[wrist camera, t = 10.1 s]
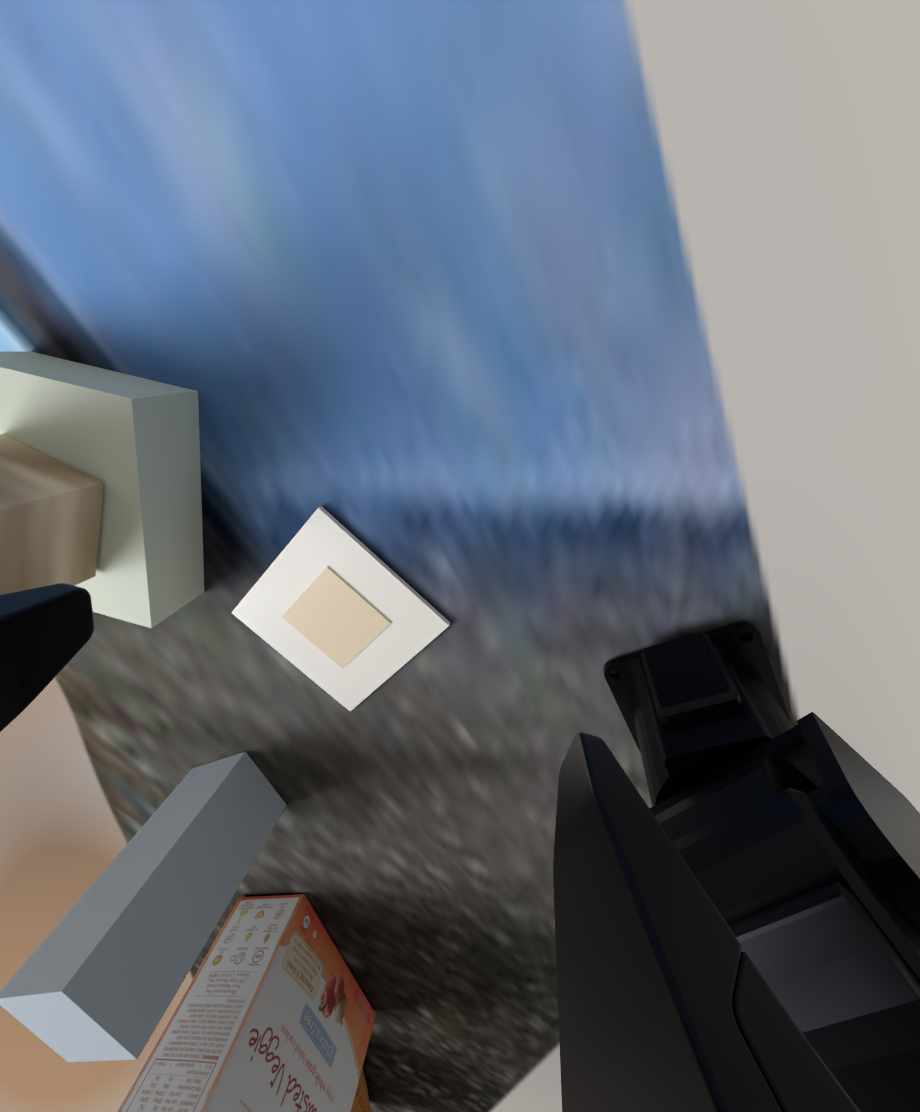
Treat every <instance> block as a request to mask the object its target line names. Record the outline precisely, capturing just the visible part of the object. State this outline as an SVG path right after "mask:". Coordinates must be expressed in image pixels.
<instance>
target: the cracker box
mask: <svg viewBox="0 0 920 1112" xmlns="http://www.w3.org/2000/svg"><path fill="white" fill-rule="evenodd" d="M375 1017H376V1012H375V1011H374V1010H373V1008H372V1007H371V1005H370V1003H369V1002H368V1000H367V998H366V997H365V995H364V993H363V992H362V990H361V988H360V987H359V985H358V983H357V982H356V980H355V978H354V976H353V975H352V973H351V971H350V970H349V968H348V966H347V965H346V963H345V962H344V960H343V958H342V956H341V955H340V953H339V951H338V949H337V948H336V946H335V945H334V943H333V941H332V940H331V938H330V936H329V934H328V933H327V931H326V929H325V928H324V926H323V924H322V923H321V921H320V919H319V918H318V916H317V914H316V913H315V911H314V909H313V907H312V906H311V904H310V902H309V901H308V899H307V897H306V896H305V895H304V894H295V895H275V896H252V897H240V898H239V900H238V901H237V903H236V905H235V907H234V908H233V910H232V912H231V914H230V915H229V917H228V919H227V920H226V922H225V924H224V926H223V927H222V929H221V931H220V933H219V934H218V936H217V938H216V940H215V942H214V943H213V945H212V947H211V948H210V950H209V952H208V954H207V956H206V957H205V959H204V961H203V963H202V964H201V966H200V968H199V970H198V971H197V973H196V975H195V977H194V978H193V980H192V982H191V984H190V985H189V987H188V989H187V991H186V992H185V994H184V996H183V998H182V999H181V1001H180V1003H179V1005H178V1006H177V1008H176V1010H175V1012H174V1013H173V1015H172V1017H171V1019H170V1021H169V1022H168V1024H167V1026H166V1028H165V1029H164V1031H163V1033H162V1034H161V1036H160V1038H159V1039H158V1041H157V1043H156V1045H155V1046H154V1048H153V1050H152V1052H151V1054H150V1055H149V1057H148V1059H147V1061H146V1062H145V1064H144V1066H143V1067H142V1069H141V1071H140V1073H139V1075H138V1076H137V1078H136V1080H135V1082H134V1084H133V1085H132V1087H131V1089H130V1091H129V1092H128V1094H127V1096H126V1098H125V1099H124V1101H123V1103H122V1104H121V1106H120V1108H119V1110H118V1111H117V1112H351V1108H352V1105H353V1101H354V1097H355V1093H356V1090H357V1086H358V1082H359V1078H360V1074H361V1071H362V1067H363V1063H364V1059H365V1056H366V1051H367V1047H368V1044H369V1040H370V1036H371V1032H372V1028H373V1025H374V1021H375Z"/></svg>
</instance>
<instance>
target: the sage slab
mask: <svg viewBox="0 0 920 1112" xmlns="http://www.w3.org/2000/svg"><path fill="white" fill-rule="evenodd" d="M0 434H4V435H6V436H8V437H11V438H13V439H15V440H17V441H19V442H21V443H23V444H25V445H27V446H29V447H31V448H33V449H35V450H37V451H39V452H41V453H43V454H45V455H47V456H50V457H52V458H54V459H56V460H58V461H60V462H62V463H64V464H66V465H68V466H70V467H72V468H74V469H76V470H78V471H80V472H82V473H84V474H86V475H88V476H91V477H93V478H95V479H97V480H99V481H101V482H103V483H104V485H103V496H102V508H101V519H100V531H99V542H98V554H97V565H96V576H95V577H93V578H90V579H88V580H86V581H84V582H82V583H79V584H77V585H75V586H77V587H81V588H84V589H86V590H88V592H89V593H90V595H91V601H92V609H93V612H96V613H99V614H103V615H107V616H110V617H114V618H117V619H121V620H124V621H128V622H131V623H135V624H138V625H142V626H145V627H149V628H153V627H154V626H155V625H157V624H158V623H160V622H161V621H163V620H164V619H166V618H167V617H169V616H170V615H171V614H173V613H174V612H176V611H177V610H179V609H180V608H182V607H183V606H185V605H186V604H187V603H189V602H190V601H192V600H193V599H195V598H196V597H198V596H199V595H200V594H202V593H203V592H204V562H203V530H202V499H201V468H200V437H199V406H198V391H195V390H191V389H187V388H183V387H179V386H174V385H170V384H166V383H162V382H157V381H153V380H149V379H145V378H141V377H136V376H132V375H128V374H124V373H119V372H115V371H111V370H107V369H103V368H98V367H94V366H90V365H86V364H81V363H77V362H73V361H69V360H64V359H60V358H56V357H52V356H48V355H43V354H39V353H35V352H0Z"/></svg>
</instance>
